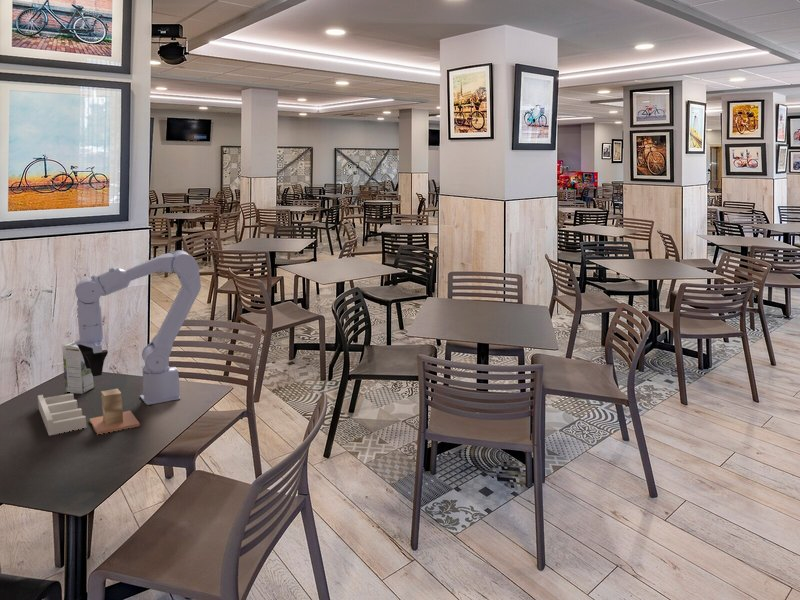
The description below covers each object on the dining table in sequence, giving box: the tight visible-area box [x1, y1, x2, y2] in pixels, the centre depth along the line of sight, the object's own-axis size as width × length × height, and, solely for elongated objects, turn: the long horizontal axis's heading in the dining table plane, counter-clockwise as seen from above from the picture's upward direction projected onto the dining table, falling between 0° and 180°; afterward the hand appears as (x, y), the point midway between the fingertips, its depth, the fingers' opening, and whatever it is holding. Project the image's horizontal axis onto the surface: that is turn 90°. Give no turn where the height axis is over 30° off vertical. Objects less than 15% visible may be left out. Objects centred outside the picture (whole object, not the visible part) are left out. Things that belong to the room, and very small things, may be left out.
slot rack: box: [37, 393, 88, 437], centre depth 154 cm, size 8×20×4 cm, turn 37°
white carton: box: [61, 341, 96, 395], centre depth 173 cm, size 6×6×14 cm
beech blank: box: [100, 388, 124, 426], centre depth 151 cm, size 4×4×8 cm
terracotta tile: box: [89, 410, 141, 436], centre depth 153 cm, size 10×10×1 cm
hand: (93, 371), depth 161 cm, fingers open, 7 cm apart
